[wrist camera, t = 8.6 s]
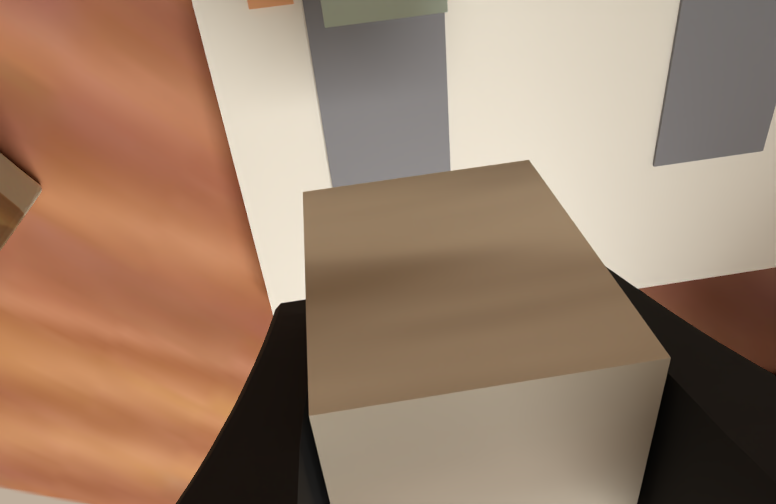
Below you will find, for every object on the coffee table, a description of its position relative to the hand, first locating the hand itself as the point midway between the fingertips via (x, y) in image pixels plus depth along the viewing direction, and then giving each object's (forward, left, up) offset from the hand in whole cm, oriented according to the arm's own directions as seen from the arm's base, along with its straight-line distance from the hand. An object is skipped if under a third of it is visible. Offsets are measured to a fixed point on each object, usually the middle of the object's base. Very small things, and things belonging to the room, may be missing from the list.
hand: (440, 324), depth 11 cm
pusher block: (0, 0, -2) cm, 2 cm away
